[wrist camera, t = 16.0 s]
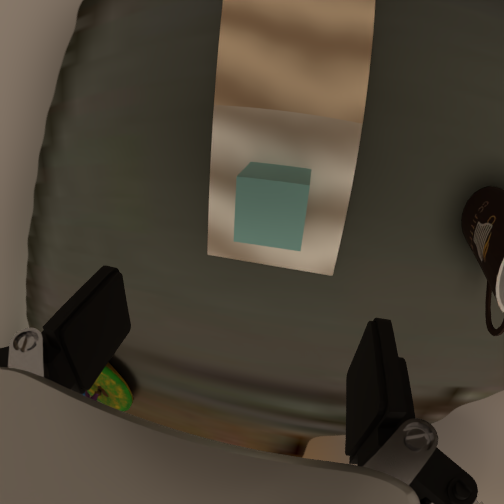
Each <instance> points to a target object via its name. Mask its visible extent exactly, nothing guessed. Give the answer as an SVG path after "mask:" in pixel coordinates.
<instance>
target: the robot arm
mask: <svg viewBox="0 0 504 504" xmlns="http://www.w3.org/2000/svg"><path fill="white" fill-rule="evenodd" d="M130 328H131V323H130V318H129V312H128V307H127V301H126V295H125V289H124V283H123V276H122V274H121V273H120V272H119V270H118V269H117V268H114V267H110V266H103V267H102V268H100V269H99V270H98V271H97V272H96V273H95V274H94V275H93V276H92V277H91V278H90V279H89V280H88V281H87V282H86V283H85V284H84V285H83V286H82V287H81V288H80V289H79V290H78V291H77V292H76V293H75V294H74V295H73V296H72V297H71V298H70V299H69V300H68V301H67V302H66V303H65V304H64V305H63V306H62V307H61V308H60V309H59V310H58V311H57V312H56V313H55V314H54V315H53V317H52V318H51V319H50V320H49V321H48V322H47V323H46V324H45V325H44V326H43V329H44V330H43V332H42V333H40V331H39V330H37V329H34V328H25V329H23V330H20V331H18V332H17V333H16V334H15V335H13V337H12V338H11V341H10V345H9V346H8V347H4V348H0V504H483V503H482V502H480V503H478V501H477V500H476V497H477V493H478V489H477V484H476V482H475V480H474V479H473V478H472V477H471V476H470V475H469V474H468V473H467V472H465V471H464V470H463V469H461V467H459V466H458V465H457V464H456V463H454V462H453V461H452V460H451V459H450V458H448V457H447V456H446V455H445V454H444V453H443V452H441V451H440V450H439V449H438V448H437V444H438V435H437V432H436V430H435V429H434V427H433V426H432V425H431V424H430V423H429V422H427V421H425V420H422V419H418V418H416V419H415V413H414V406H413V400H412V394H411V388H410V382H409V376H408V371H407V366H406V362H405V359H404V358H400V357H398V353H397V348H396V343H395V337H394V333H393V328H392V323H391V320H388V319H381V318H375V319H374V320H373V321H369V322H368V324H367V326H366V329H365V331H364V334H363V336H362V339H361V341H360V344H359V346H358V349H357V351H356V353H355V356H354V358H353V360H352V363H351V365H350V367H349V370H348V373H347V379H346V444H345V446H346V447H345V454H346V455H349V456H350V462H349V463H350V464H343V463H335V462H329V461H321V460H314V459H306V458H300V457H293V456H287V455H281V454H275V453H270V452H264V451H259V450H254V449H249V448H244V447H240V446H235V445H231V444H226V443H222V442H218V441H214V440H210V439H206V438H203V437H199V436H195V435H192V434H188V433H185V432H181V431H178V430H175V429H172V428H168V427H165V426H162V425H159V424H156V423H153V422H150V421H147V420H144V419H142V418H139V417H136V416H133V415H131V414H128V413H125V412H123V411H120V410H117V409H115V408H112V407H110V406H107V405H105V404H102V403H100V402H98V401H95V400H93V399H91V398H88V397H86V396H84V395H83V394H84V392H85V391H86V390H89V389H90V388H91V387H92V385H93V384H94V382H95V381H96V379H97V378H98V376H99V375H100V374H101V372H102V371H103V369H104V368H105V366H106V365H107V363H108V362H109V360H110V359H111V357H112V356H113V355H114V353H115V352H116V350H117V349H118V347H119V346H120V344H121V343H122V342H123V340H124V339H125V337H126V336H127V334H128V333H129V331H130ZM351 464H358V466H356V465H351Z"/></svg>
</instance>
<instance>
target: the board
mask: <svg viewBox="0 0 504 504" xmlns="http://www.w3.org/2000/svg"><path fill="white" fill-rule="evenodd" d="M374 14H375V0H223V7H222V16H221V26H220V37H219V48H218V59H217V71H216V84H215V97H214V112H213V128H212V146H211V165H210V188H209V216H208V255H213V256H219V257H225V258H231V259H236V260H242V261H248V262H254V263H260V264H266V265H271V266H277V267H283V268H289V269H295V270H301V271H307V272H313V273H319V274H325V275H331V276H332V275H333V271H334V267H335V263H336V259H337V254H338V250H339V246H340V241H341V237H342V232H343V228H344V223H345V218H346V214H347V209H348V204H349V199H350V194H351V188H352V183H353V178H354V172H355V167H356V161H357V155H358V149H359V143H360V137H361V131H362V124H363V117H364V110H365V103H366V95H367V87H368V79H369V70H370V61H371V51H372V40H373V28H374ZM250 162H259V163H268V164H277V165H285V166H293V167H300V168H308V169H311V178H310V188H309V195H308V203H307V210H306V217H305V225H304V232H303V238H302V245H301V251H294V250H288V249H281V248H274V247H267V246H261V245H254V244H247V243H240V242H234V219H235V198H236V178H237V175H238V174H239V173H240V172H241V171H242V170H243V169H244V168H245V167H246V166H247V165H248V164H249V163H250Z"/></svg>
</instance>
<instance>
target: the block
mask: <svg viewBox="0 0 504 504" xmlns="http://www.w3.org/2000/svg"><path fill="white" fill-rule="evenodd" d="M310 178H311V169H308V168H300V167H293V166H285V165H277V164H268V163H259V162H250V163H249V164H248V165H247V166H246V167H245V168H244V169H243V170H242V171H241V172H240V173H239V174H238V175H237V178H236V198H235V219H234V242H240V243H247V244H254V245H261V246H267V247H274V248H281V249H288V250H294V251H301V245H302V238H303V232H304V225H305V217H306V210H307V203H308V195H309V188H310Z"/></svg>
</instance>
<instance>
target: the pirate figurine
mask: <svg viewBox="0 0 504 504" xmlns="http://www.w3.org/2000/svg"><path fill="white" fill-rule="evenodd" d="M89 394H90V395H91V396H92V397H91V399H93V400H95V401H97V400H98V401H100V402H102V403H103V404H105V405H107V406H110V407H112V408H115V409H117V410H120V411H126V410H128V409H129V408H130V406H131V404H132V403H133V395H132V393H131V391H130V389H129V387H128V385H127V383H126V382H125V381H124V379H123V378H122V377H121V375H120V374H119V373H118V372H117V371H116V370H115V369H114V368H113V367H112V365H111V364H110V363H107V365H106V366H105V368H104V369H103V371H102V372H101V374H100V375H99V376H98V378H97V379H96V381H95V382H94V384H93V385H92V387H91V388H90V389H89V390H86V391H85V392H84V394H83V395H84V396H86V397H88V398H90V395H89Z"/></svg>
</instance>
